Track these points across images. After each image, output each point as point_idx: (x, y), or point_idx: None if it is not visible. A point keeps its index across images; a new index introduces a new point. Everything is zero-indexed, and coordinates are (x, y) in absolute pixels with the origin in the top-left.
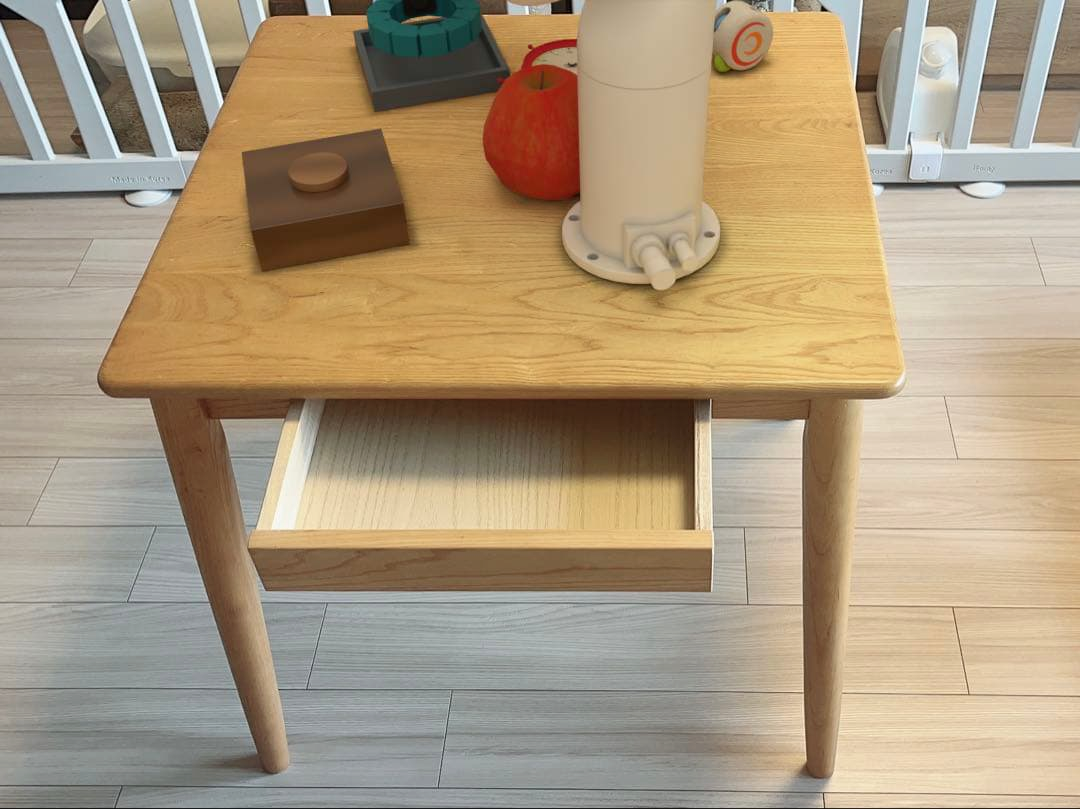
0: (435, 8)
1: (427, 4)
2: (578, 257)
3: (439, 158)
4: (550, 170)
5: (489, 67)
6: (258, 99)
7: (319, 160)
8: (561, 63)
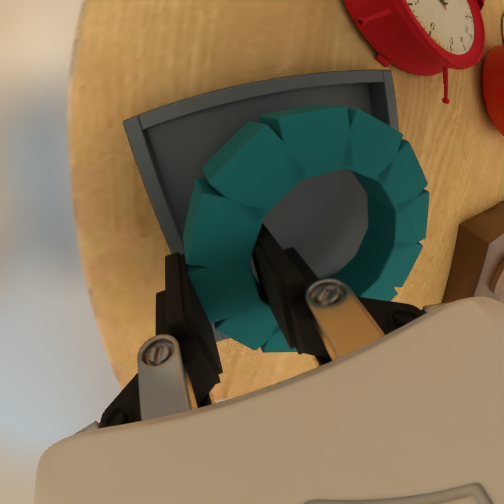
0: (263, 225)
1: (292, 248)
2: None
3: (462, 177)
4: None
5: (322, 96)
6: (316, 367)
7: (502, 278)
8: (436, 7)
